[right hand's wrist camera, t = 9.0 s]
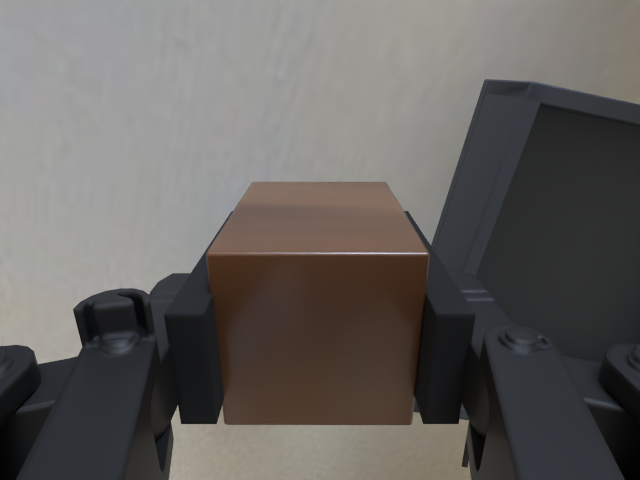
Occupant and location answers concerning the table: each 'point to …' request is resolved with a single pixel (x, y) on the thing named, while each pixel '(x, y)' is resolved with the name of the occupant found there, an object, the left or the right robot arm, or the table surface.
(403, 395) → the walnut block
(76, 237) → the table surface
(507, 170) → the tray
